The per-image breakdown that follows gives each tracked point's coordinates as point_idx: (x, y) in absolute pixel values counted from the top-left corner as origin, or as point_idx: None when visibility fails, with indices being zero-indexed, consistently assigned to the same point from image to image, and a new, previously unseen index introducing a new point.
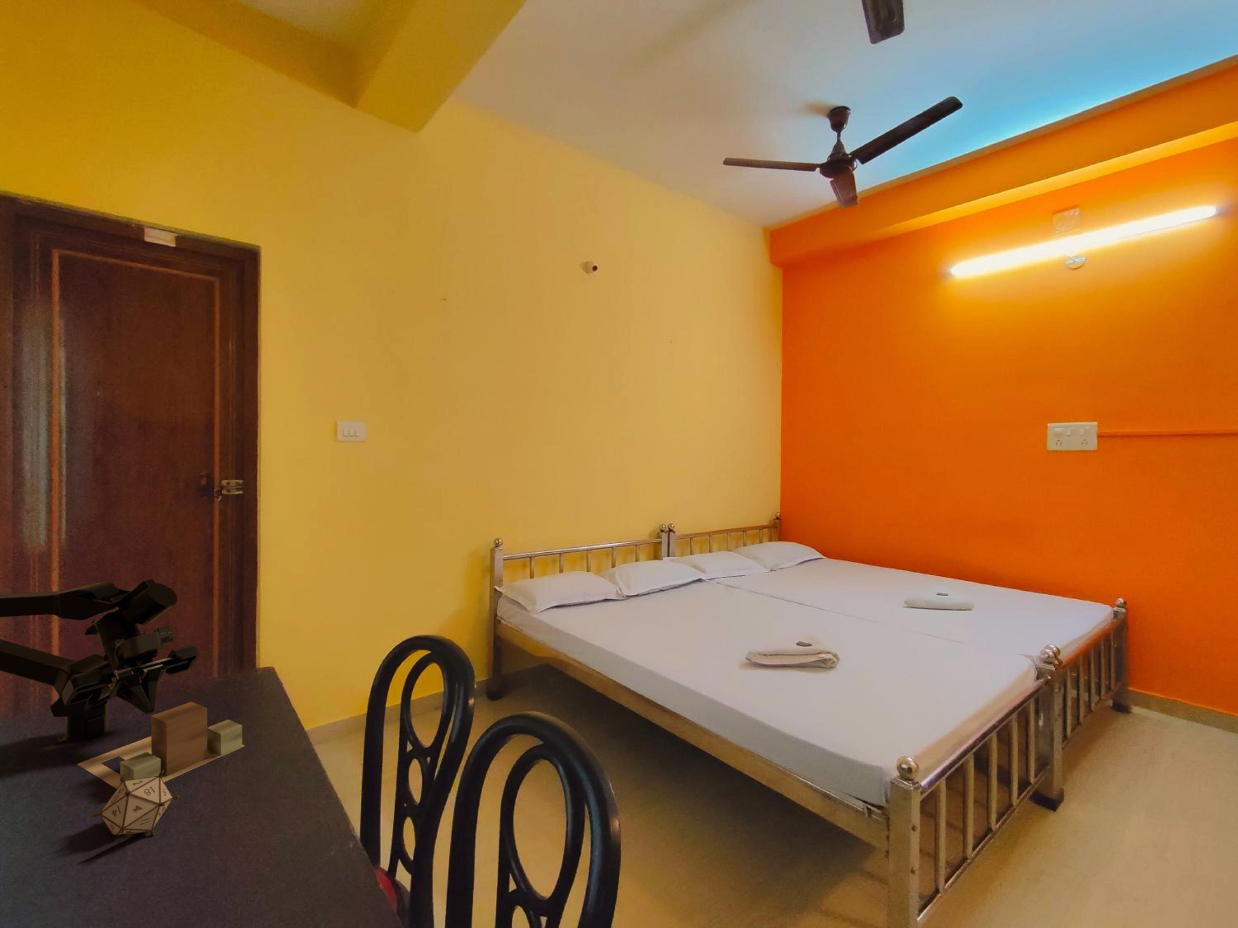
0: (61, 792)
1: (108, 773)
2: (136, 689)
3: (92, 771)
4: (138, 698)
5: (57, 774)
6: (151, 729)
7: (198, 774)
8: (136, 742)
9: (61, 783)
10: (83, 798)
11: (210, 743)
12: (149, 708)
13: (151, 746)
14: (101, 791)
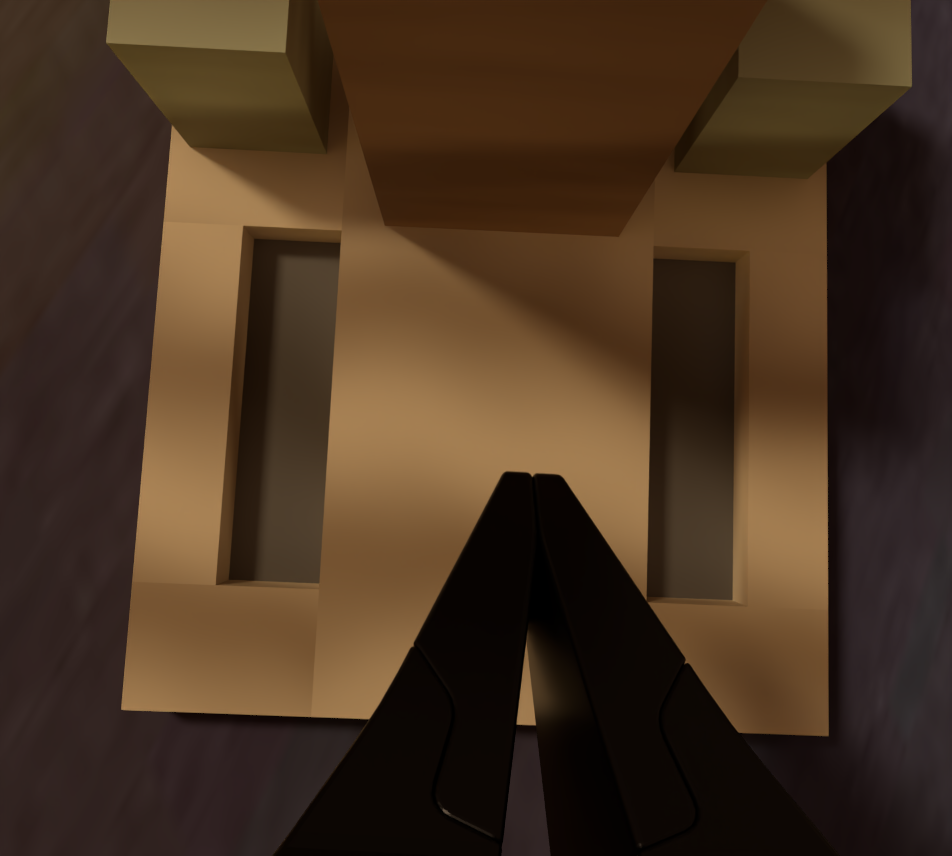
0: (939, 514)
1: (777, 407)
2: (721, 797)
3: (815, 530)
4: (673, 644)
5: (877, 782)
6: (717, 76)
7: None
8: None
9: (904, 631)
10: (901, 331)
11: (318, 80)
12: (553, 494)
13: (660, 168)
14: None
